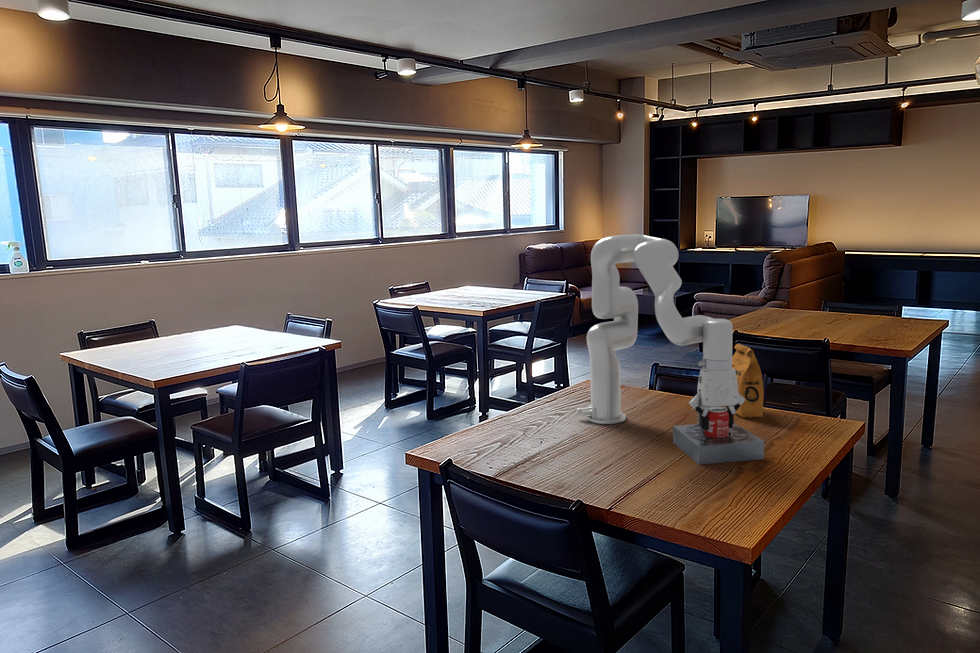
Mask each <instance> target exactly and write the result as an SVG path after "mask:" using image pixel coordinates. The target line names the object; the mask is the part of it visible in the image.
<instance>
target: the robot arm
mask: <svg viewBox="0 0 980 653" xmlns="http://www.w3.org/2000/svg"><path fill="white" fill-rule="evenodd" d="M678 260H679V250H678V248H677V246H676V245H675V243H674V242H672V241H671V240H668V239H666V238H660V237H655V236H650V235H645V234H641V233H639V234H637V233H636V234H635V233H634V234H633V233H632V234H617V235H611V236H605V237H603V238H600V239H599V240H598V241H596V243H595V244H594V245H593V247H592V249H591V252H590V264H591V265H590V266H591V275H592V278H591V279H592V280H591V310H592V313H593V315H594V316H595V318H597V319H601V320H607V319H613V321H612V320H611V321H605V322H600V323H597V324H594V325H593V326H591V327H590V328H589V330H588V331H587V334H586V345H587V350H588V353H589V369H590V370H589V371H590V403H588V406H586V407H578V408H576V414H577V415H582V416H586V420H587V421H589V422H591V423H593V424H601V425H614V424H620V423H622V422H624V421H626V419H627V418H626V414H625V413H623V411H621V410H622V409H621V407H622V403H621V400H622V399H621V364H620V360H619V358H618V356H617V354H616V351H621V350H623V349H627V348H631V347H632V346H633V345H634V344H635V342H636V340H637V339H638V338H637V337H638V326H639V322H638V321H639V319H638V318H639V301H638V297H637V295H636V293H635V292H634V290H633V289H632V288H630V287H628V286H620V280H621V279H620V272H619V270H618V268H617V266H616V265H617V264H623V263H624V264H625V263H633V262H634V263H635V265H636V266H637V268H638V270H639V272H640V274H642V277H644V279H645V281H646V283H647V284H648V285H649V287H650V290H651V291H652V292H653V295H654V313H655V318H656V321H657V323H658V324H659V327H660V328H661V329H662V331H663V333H664V334H665V336H666V337H667V339H668V340H669V342H671V343H672V344H674V345H676V346H679V347H683V346H688V345H692V344H698V343H703V344H702V360H701V361H698V362H697V364H698V365H697V366H698V367H702V368H700V371H699V375H698V376H699V377H698V382H697V390H696V391H697V393H696V394H694V396H693V397H692V398H691V399H690V400H689V401H688V405H689V406H691V407H692V408H693V409H694V410H695V411H696V412H697V414H698V413H699V414H700V426H701V428H703V429H704V430H708V416H707V412H708V410H709V408H711V407H724V408H726V409H727V410H726V411H727V412H728V414H729V428H733V424H734V420H735V414H736V411H737V410H738V408H739V407H740V405H742V403H743V402H744V401H745V398H743V397H742V396H741V395H740V394H739V393H738V384H737V377H736V372H735V369H733V368H732V357H733V332H734V330H733V328H734V327H733V322H732V321H731V320H729V319H727V318H713V317H711V316H707V315H705V314H704V315H702V314H697V315H693V316H686V317H683V316H682V315H681V313H679V311H678V309H677V307H676V305H675V302H674V295H675V293H676V292H677V291H678V290H679V289H680V288H681V286H682V283H683V281H682V278H681V277H680V276H679V274H678V272H677V271H676V269H675V268H674V266H675V264H676V263H677V261H678ZM698 402H699V403H701V406H700V407H699V406H698Z"/></svg>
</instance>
